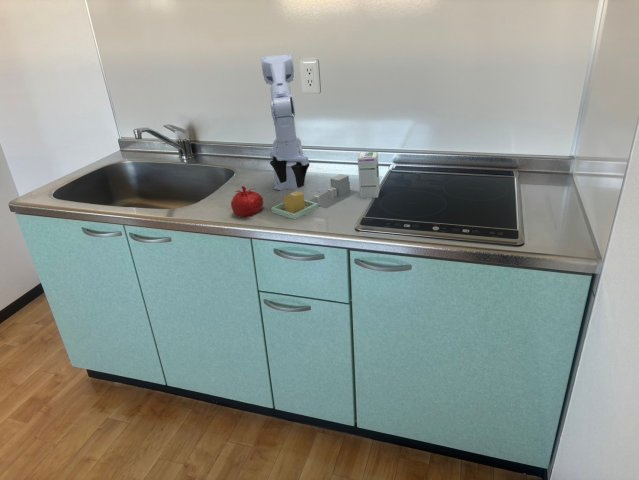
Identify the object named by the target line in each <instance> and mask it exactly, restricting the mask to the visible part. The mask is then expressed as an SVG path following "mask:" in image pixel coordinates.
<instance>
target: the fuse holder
mask: <svg viewBox="0 0 639 480" xmlns="http://www.w3.org/2000/svg"><path fill="white" fill-rule="evenodd" d="M350 183H351V182H350V181H349V189H350V192H348V193H346V194H344V195H342V196H340V197H339V196H337V190H336V188H332V187H331V186H330V188H327V192H324V193H322V194H320V195H316V194H315V195H313V196H312V198H311V199H310V200H309V201H311V202H314V203H318V208H323V209H328V208H330V207H332V206H334V205H336V204H338V203H340V202H342V201H344V200H345V199H346V200H347V198H350V197H352V196H354V195H356V194H358V193H359V191H357V190H353V189H351V184H350Z"/></svg>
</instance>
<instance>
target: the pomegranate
mask: <svg viewBox="0 0 639 480" xmlns="http://www.w3.org/2000/svg"><path fill="white" fill-rule="evenodd" d="M240 188H241V189H242V191H241V190H234V192H235V193H236V192H237V193H236V194H234V196H233V198H232V200H231V202H230V207H231V211H232V213H233V214H234V215H235V216H236V217H239V216H240V218H248V217H254V215H256V214H258V213H259V212H261V211H263V210H262V209H263V205H264V198H263V197H262V195H260V194H259V192H256V191H251V190H252V188H250V189H248V190H247V188H246V187H245V186H244V185H241V187H240ZM256 189H257V188H254V190H256Z"/></svg>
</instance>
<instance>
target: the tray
mask: <svg viewBox="0 0 639 480" xmlns="http://www.w3.org/2000/svg"><path fill="white" fill-rule="evenodd" d="M304 202H305V209H303V210H301V211H298V212H296V213H294V214H293V213H290V212H286V210H283V209H284V208H285V202H284V201H283V202H281V203H279V204H277V205H275V206H272V207H271V213H273V214H275V215H280V216H283V217H285V218H289V219H292V220H297V219H299V218H301V217H303V216H305V215H306V214H309V213H311V212H313V211H315V210H317V209H319V206H318V203H314V202H311V201H310V200H307V199H304ZM306 206H307V207H306Z"/></svg>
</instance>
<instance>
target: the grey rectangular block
mask: <svg viewBox="0 0 639 480" xmlns="http://www.w3.org/2000/svg"><path fill="white" fill-rule="evenodd" d="M349 178H350V177H349V175H347V174H343V173H342V174H341V173H340V174H338V175H336V176H333V177H331V178H329V180H330V181H329V182H330V188H331V187H332V188H336V190H337V196H339V197H340V196H342V195H344V194H346V193H348V192H350V190H351V188H350V189H349V182H350V181H349V180H350V179H349Z"/></svg>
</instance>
